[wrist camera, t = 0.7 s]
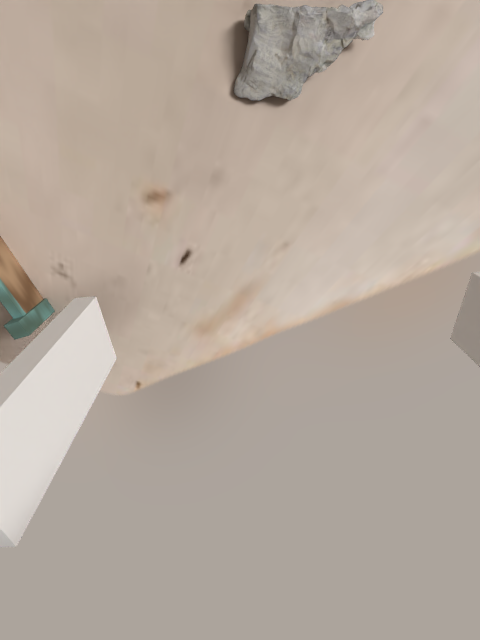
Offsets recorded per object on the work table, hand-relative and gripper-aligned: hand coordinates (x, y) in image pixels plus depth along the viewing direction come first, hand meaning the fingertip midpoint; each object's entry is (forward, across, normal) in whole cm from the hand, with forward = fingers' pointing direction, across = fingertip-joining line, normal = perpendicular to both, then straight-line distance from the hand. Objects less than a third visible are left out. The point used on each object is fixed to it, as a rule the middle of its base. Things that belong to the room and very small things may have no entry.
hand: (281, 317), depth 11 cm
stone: (+28, +4, +12) cm, 31 cm away
